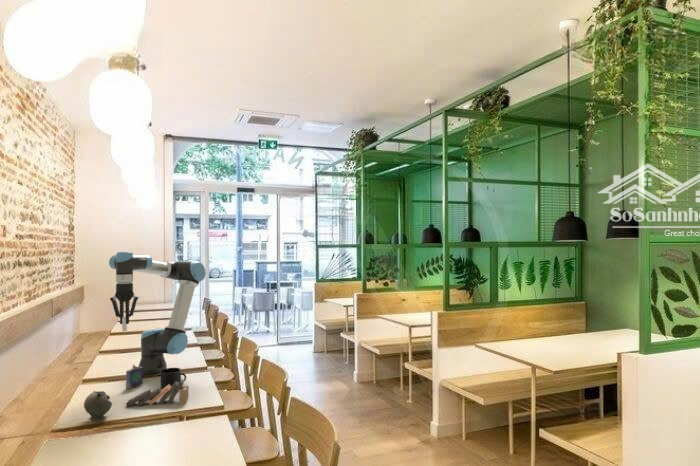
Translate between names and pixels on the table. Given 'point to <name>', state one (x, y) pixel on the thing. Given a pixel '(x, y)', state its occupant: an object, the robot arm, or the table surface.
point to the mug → (170, 376)
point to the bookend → (183, 394)
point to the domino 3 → (160, 394)
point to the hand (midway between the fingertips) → (124, 330)
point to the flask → (134, 377)
